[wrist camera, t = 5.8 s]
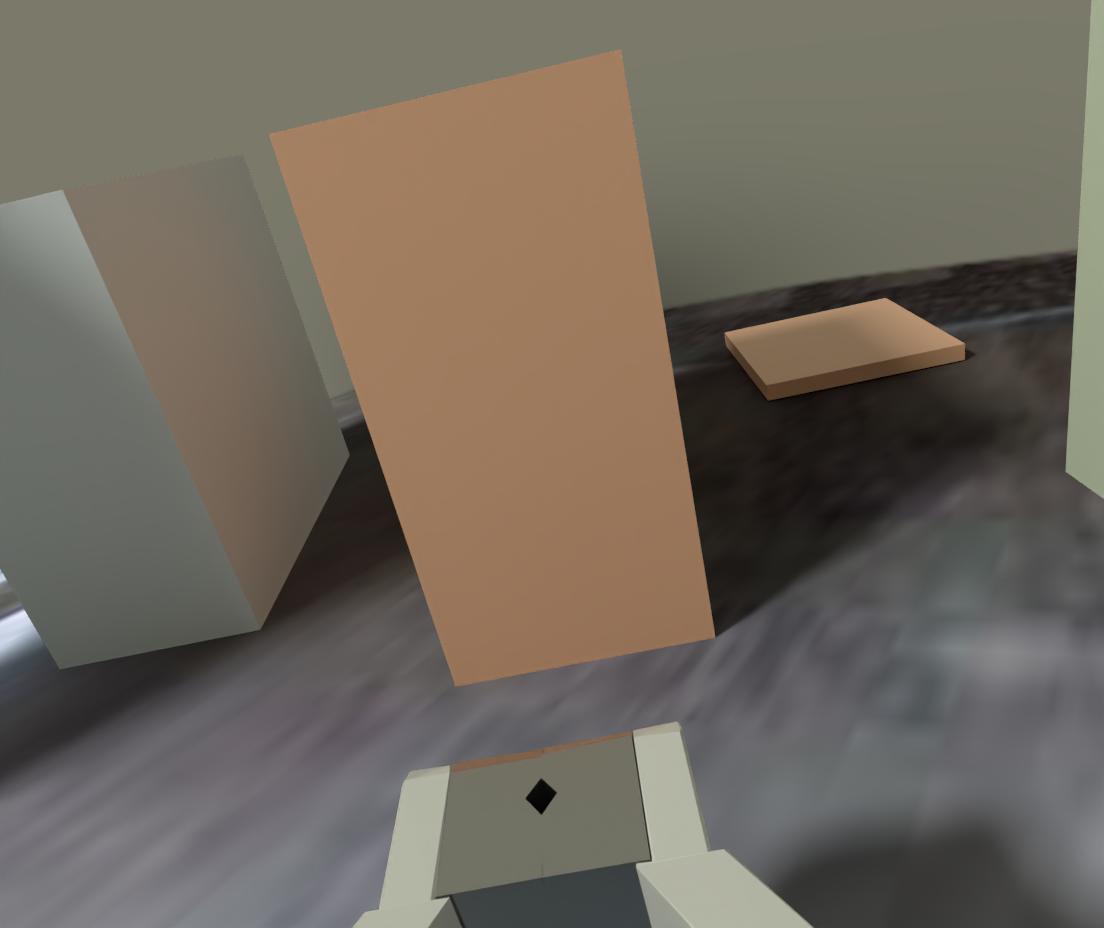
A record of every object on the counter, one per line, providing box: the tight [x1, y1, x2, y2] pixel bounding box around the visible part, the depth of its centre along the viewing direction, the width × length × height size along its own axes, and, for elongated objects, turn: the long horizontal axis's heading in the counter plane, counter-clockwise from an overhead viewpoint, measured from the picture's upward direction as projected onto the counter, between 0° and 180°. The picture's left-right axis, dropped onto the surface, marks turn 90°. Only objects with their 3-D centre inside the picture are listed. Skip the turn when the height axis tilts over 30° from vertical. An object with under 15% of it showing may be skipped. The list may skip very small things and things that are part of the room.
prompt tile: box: [725, 298, 965, 401], centre depth 32 cm, size 7×7×1 cm
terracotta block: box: [269, 50, 716, 686], centre depth 21 cm, size 6×12×12 cm, turn 1°
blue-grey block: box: [0, 154, 350, 669], centre depth 26 cm, size 6×12×12 cm, turn 1°
